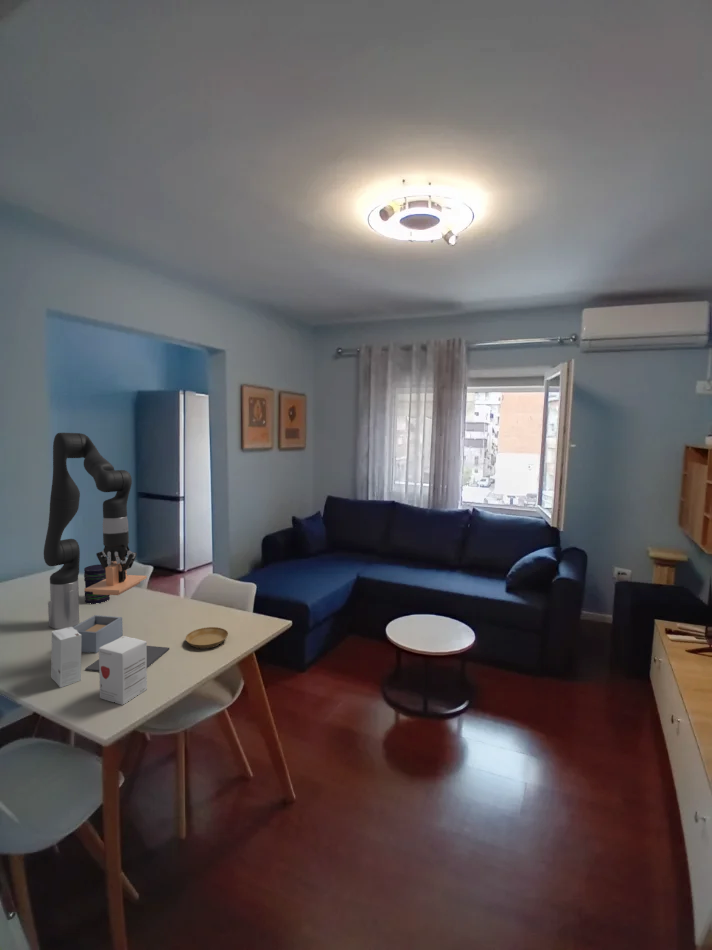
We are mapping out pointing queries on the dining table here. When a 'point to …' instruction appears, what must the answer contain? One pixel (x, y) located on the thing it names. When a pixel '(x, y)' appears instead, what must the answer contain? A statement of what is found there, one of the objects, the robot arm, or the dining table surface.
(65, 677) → the skincare box
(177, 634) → the dining table surface
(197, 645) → the plant saucer
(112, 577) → the peach handled lid
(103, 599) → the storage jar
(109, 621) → the slate storage box
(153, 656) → the black rubber mat
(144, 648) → the supplement box
